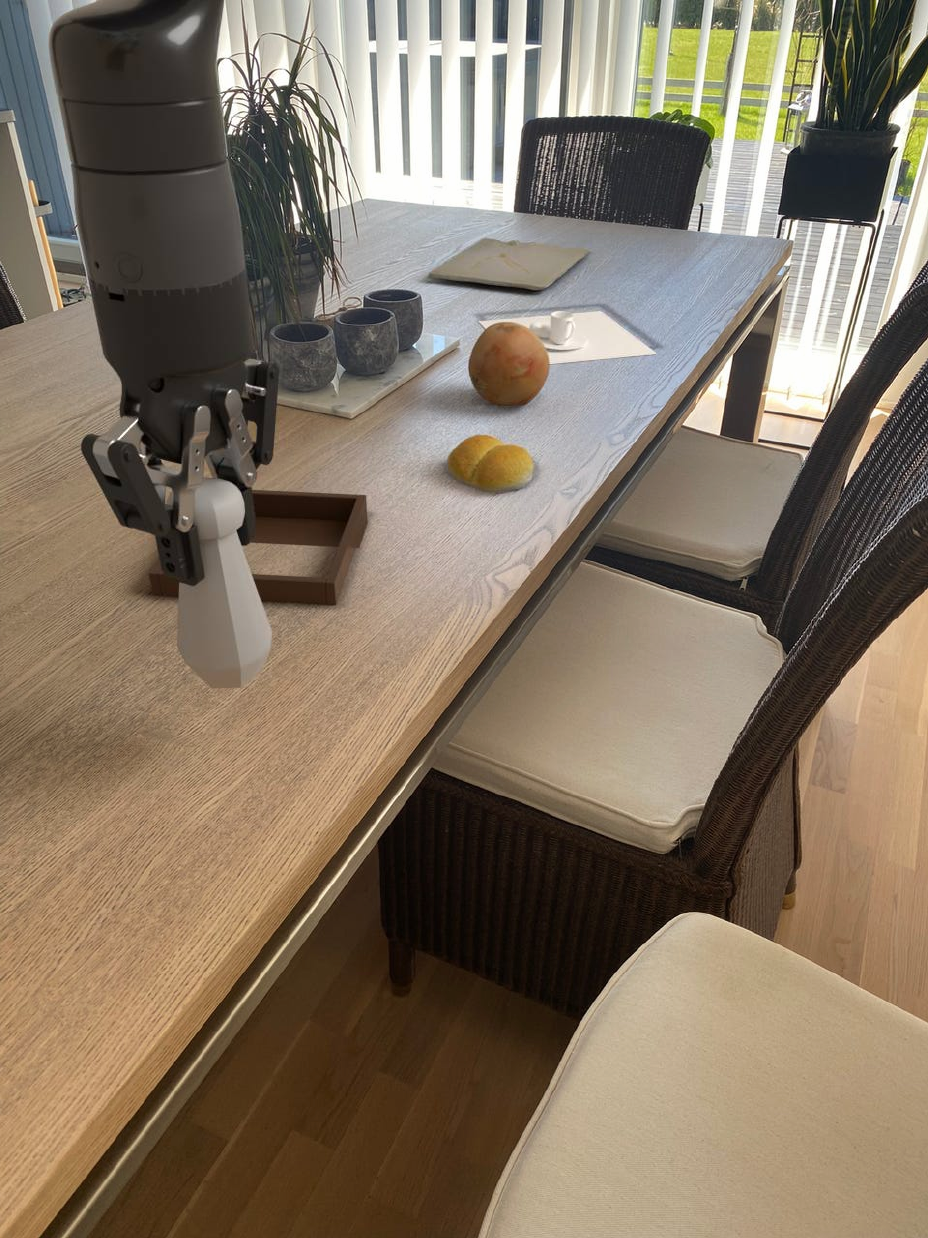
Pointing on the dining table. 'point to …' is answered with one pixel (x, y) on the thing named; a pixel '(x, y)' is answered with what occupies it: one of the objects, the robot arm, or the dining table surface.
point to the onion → (508, 364)
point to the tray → (298, 543)
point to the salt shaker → (222, 596)
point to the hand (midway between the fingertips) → (212, 558)
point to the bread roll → (490, 464)
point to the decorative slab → (510, 264)
